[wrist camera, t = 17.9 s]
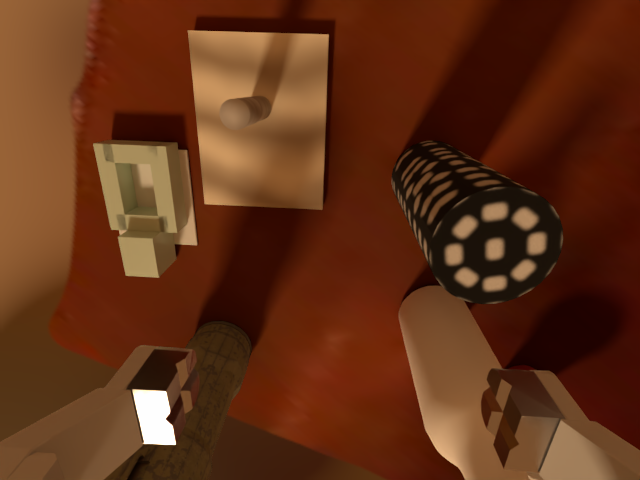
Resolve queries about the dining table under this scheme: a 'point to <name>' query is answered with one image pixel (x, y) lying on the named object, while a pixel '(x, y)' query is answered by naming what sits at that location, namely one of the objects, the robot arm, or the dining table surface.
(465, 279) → the white-spotted black cylinder
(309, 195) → the post stand
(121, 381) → the robot arm
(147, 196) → the mat
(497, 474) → the alcohol
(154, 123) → the dining table surface
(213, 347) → the stone moai statue
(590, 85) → the dining table surface
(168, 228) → the link
